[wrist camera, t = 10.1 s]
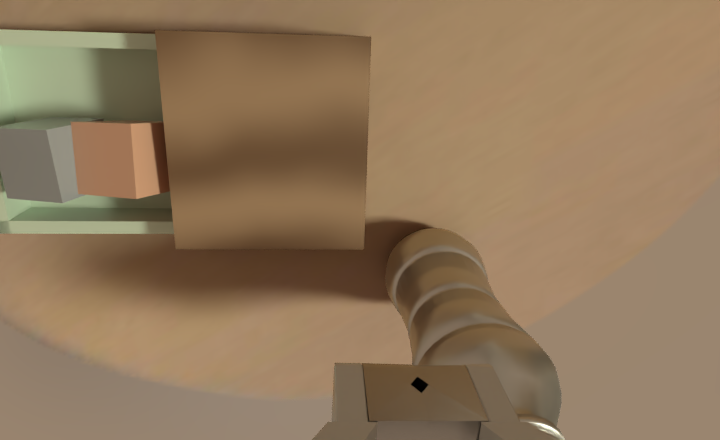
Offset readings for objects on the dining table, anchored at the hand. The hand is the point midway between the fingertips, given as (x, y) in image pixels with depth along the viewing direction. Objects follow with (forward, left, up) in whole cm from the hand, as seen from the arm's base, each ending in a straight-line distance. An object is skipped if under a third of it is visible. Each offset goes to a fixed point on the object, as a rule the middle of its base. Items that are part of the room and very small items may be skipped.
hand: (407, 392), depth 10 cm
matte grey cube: (+1, -15, -22) cm, 26 cm away
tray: (0, -16, -25) cm, 30 cm away
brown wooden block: (0, -5, -25) cm, 26 cm away
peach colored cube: (+1, -15, -23) cm, 27 cm away
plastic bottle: (+9, +6, -26) cm, 28 cm away
